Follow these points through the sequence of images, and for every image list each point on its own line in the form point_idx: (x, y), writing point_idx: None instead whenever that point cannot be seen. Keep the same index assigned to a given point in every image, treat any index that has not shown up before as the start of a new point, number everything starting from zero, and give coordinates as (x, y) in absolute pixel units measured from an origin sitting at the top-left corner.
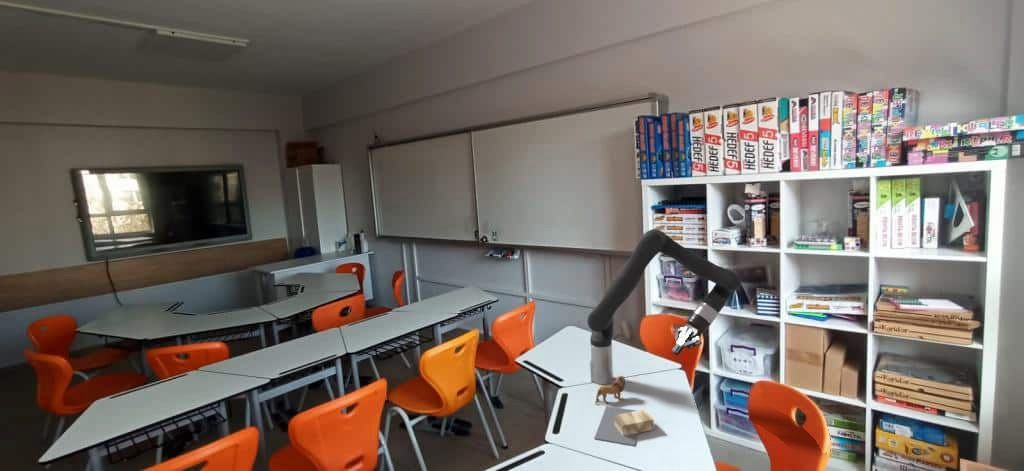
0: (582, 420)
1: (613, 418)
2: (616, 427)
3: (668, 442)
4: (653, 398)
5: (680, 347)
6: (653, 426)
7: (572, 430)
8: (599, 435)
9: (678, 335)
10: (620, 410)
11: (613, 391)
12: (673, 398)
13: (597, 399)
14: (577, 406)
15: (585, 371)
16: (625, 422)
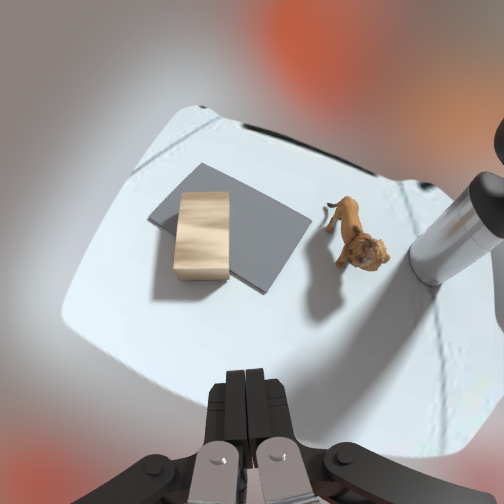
0: (270, 164)
1: (255, 214)
2: None
3: (129, 288)
4: (327, 354)
5: (207, 434)
6: (177, 275)
7: (242, 143)
8: (206, 171)
9: (368, 497)
10: (285, 242)
11: (342, 232)
12: (312, 409)
13: (334, 205)
14: (324, 173)
15: None
16: (190, 201)
